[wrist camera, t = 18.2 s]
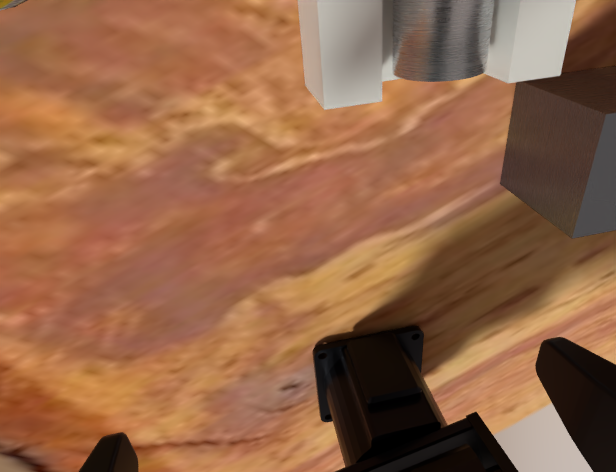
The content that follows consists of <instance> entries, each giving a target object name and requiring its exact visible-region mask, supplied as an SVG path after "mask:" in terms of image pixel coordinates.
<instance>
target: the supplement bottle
mask: <svg viewBox="0 0 616 472" xmlns="http://www.w3.org/2000/svg"><path fill="white" fill-rule="evenodd" d="M25 1H27V0H0V10H4V9H8V8H12V7H16V6H18V5H19V4H21V3H23V2H25Z"/></svg>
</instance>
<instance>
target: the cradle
mask: <svg viewBox="0 0 616 472" xmlns="http://www.w3.org/2000/svg"><path fill="white" fill-rule="evenodd" d="M575 3H576V0H495V1H494V9H493V18H492V26H491V34H490V43H489V51H488V60H487V68H486V71H485V72H484V74H487V75H489V76H492V77H494V78H496V79H499V80H501V81H504V82H506V83H513V82H520V81H527V80H534V79H541V78H548V77H555V76H560V75H561V70H562V65H563V61H564V56H565V51H566V46H567V42H568V37H569V32H570V27H571V22H572V18H573V13H574V8H575ZM298 9H299V21H300V32H301V43H302V55H303V66H304V78H305V86H306V87H307V88H308V90H309V91H310V92H311V93H312V95H313V96H314V97H315V98H316V100H317V101H318V102H319V104H320V105H321V106H322V107H323V109H324V110H326V109H333V108H340V107H347V106H354V105H361V104H368V103H375V102H381V101H382V81H389V80H396V79H402V78H399V77H396V76H395V75H393V73H392V58H393V0H298Z"/></svg>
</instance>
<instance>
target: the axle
mask: <svg viewBox="0 0 616 472" xmlns="http://www.w3.org/2000/svg"><path fill="white" fill-rule="evenodd" d="M494 1H495V0H393V58H392V73H393V75H395V76H396V77H399V78H402V79H406V80H413V81H427V82H436V81H453V80H460V79H466V78H471V77H474V76H477V75H480V74H482V73H484V72H485V71H486V68H487V60H488V51H489V43H490V34H491V26H492V18H493V9H494Z"/></svg>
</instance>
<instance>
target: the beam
mask: <svg viewBox="0 0 616 472" xmlns="http://www.w3.org/2000/svg"><path fill="white" fill-rule="evenodd" d="M500 184H501V185H502V186H504V187H505V188H506V189H507V190H509V191H510V192H511V193H513V194H514V195H515V196H517V197H518V198H519V199H521V200H522V201H523V202H525V203H526V204H527V205H529V206H530V207H531V208H532V209H534V210H535V211H536V212H538V213H539V214H540V215H542V216H543V217H544V218H546V219H547V220H548V221H550V222H551V223H552V224H554V225H555V226H556V227H558V228H559V229H560V230H561V231H563V232H564V233H565V234H567V235H568V236H569V237H571V238H577V237H583V236H588V235H593V234H598V233H604V232H609V231H614V230H616V66H611V67H604V68H597V69H590V70H583V71H576V72H569V73H562V74H561V75H560V76H555V77H548V78H541V79H534V80H527V81H520V82H516V88H515V94H514V101H513V107H512V113H511V119H510V126H509V132H508V138H507V144H506V151H505V157H504V163H503V169H502V176H501V182H500Z"/></svg>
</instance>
